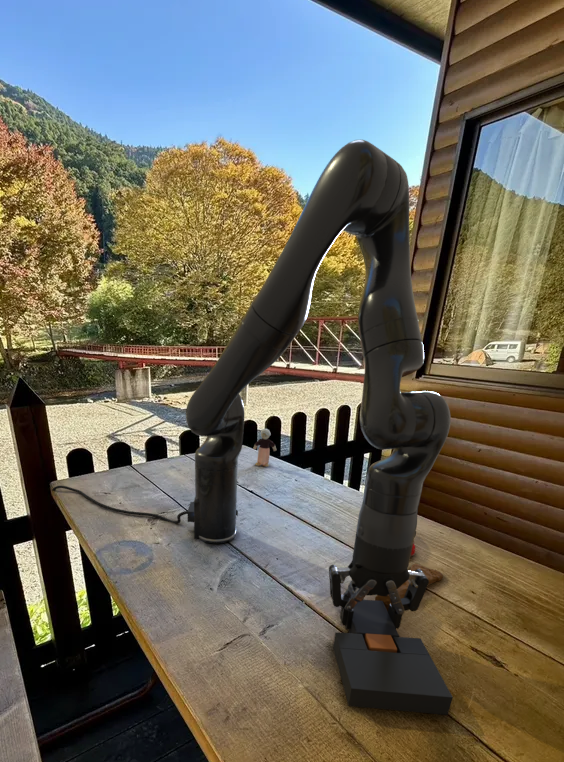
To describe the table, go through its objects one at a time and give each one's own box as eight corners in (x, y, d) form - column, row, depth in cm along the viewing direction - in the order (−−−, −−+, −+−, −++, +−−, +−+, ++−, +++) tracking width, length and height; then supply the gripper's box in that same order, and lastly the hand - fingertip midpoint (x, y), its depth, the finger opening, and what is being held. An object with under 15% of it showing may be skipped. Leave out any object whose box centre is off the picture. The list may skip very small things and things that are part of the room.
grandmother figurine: (252, 466, 137) (253, 429, 133) (252, 462, 141) (254, 426, 136) (275, 467, 136) (278, 430, 131) (275, 463, 139) (277, 427, 135)
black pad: (348, 706, 52) (351, 688, 51) (332, 647, 62) (335, 631, 61) (448, 715, 51) (453, 697, 50) (416, 654, 60) (420, 638, 59)
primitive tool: (414, 565, 82) (418, 549, 80) (444, 576, 78) (448, 561, 77) (370, 609, 70) (373, 592, 68) (403, 625, 66) (407, 608, 65)
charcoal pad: (359, 663, 59) (361, 646, 58) (342, 613, 69) (344, 598, 68) (402, 666, 58) (406, 649, 57) (379, 615, 68) (382, 600, 67)
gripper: (427, 523, 61) (407, 614, 67) (328, 519, 63) (317, 608, 69) (450, 549, 54) (426, 648, 60) (338, 544, 56) (325, 641, 62)
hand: (368, 626), depth 65 cm, fingers closed on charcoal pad, 6 cm apart
